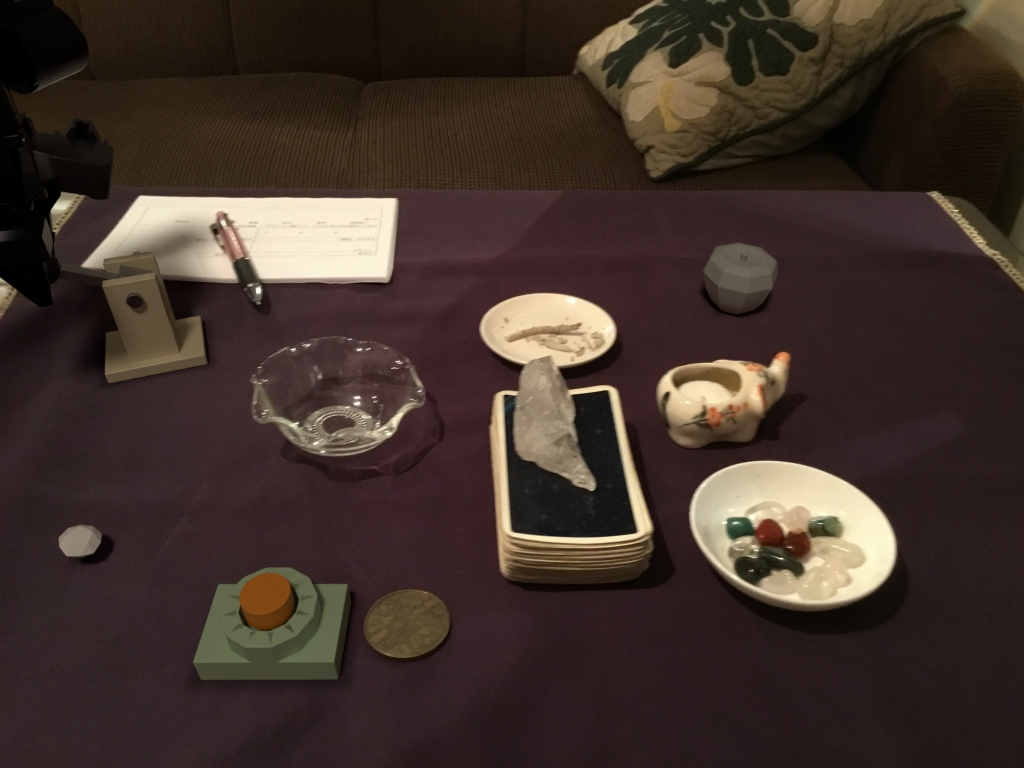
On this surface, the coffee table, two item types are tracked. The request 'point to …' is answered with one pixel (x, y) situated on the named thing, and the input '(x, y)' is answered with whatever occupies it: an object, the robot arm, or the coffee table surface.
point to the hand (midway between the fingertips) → (49, 287)
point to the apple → (739, 277)
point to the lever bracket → (147, 324)
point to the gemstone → (80, 541)
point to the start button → (267, 601)
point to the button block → (276, 634)
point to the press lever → (86, 273)
